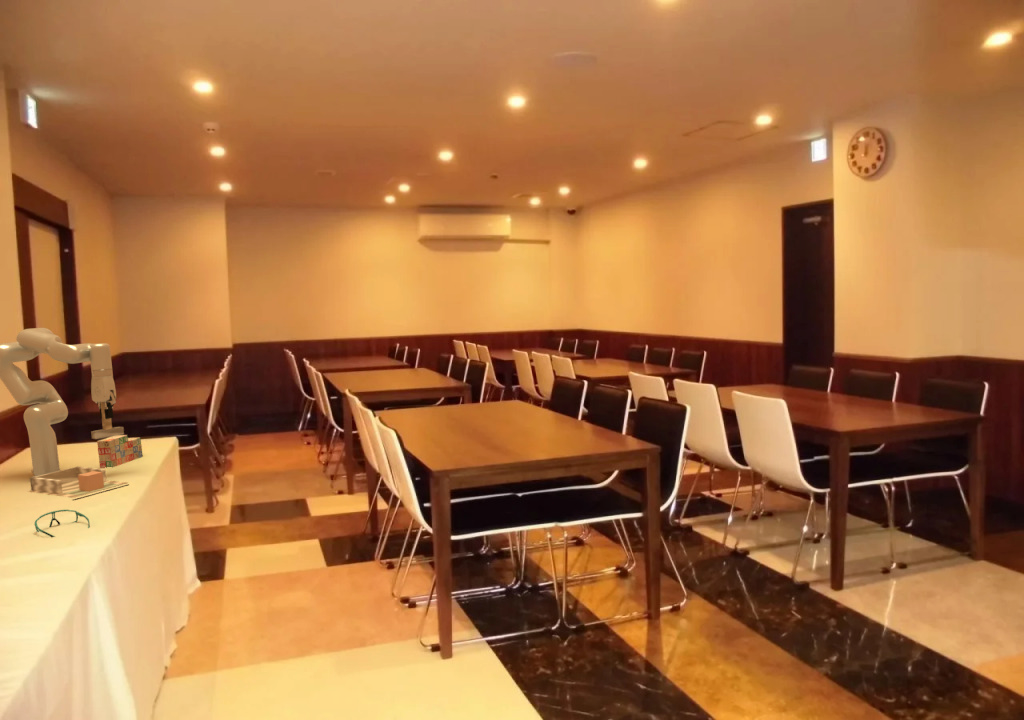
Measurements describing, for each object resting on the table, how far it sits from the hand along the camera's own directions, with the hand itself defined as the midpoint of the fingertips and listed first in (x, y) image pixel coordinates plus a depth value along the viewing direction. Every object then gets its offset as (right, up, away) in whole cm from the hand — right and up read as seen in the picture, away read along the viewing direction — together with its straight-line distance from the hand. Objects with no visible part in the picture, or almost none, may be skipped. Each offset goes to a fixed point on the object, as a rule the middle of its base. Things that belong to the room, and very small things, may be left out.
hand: (106, 417), depth 309 cm
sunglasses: (+23, -31, -68) cm, 78 cm away
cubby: (-3, -27, -15) cm, 31 cm away
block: (+5, -26, -20) cm, 33 cm away
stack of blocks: (-11, -23, +34) cm, 43 cm away
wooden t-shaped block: (0, -8, 0) cm, 8 cm away
